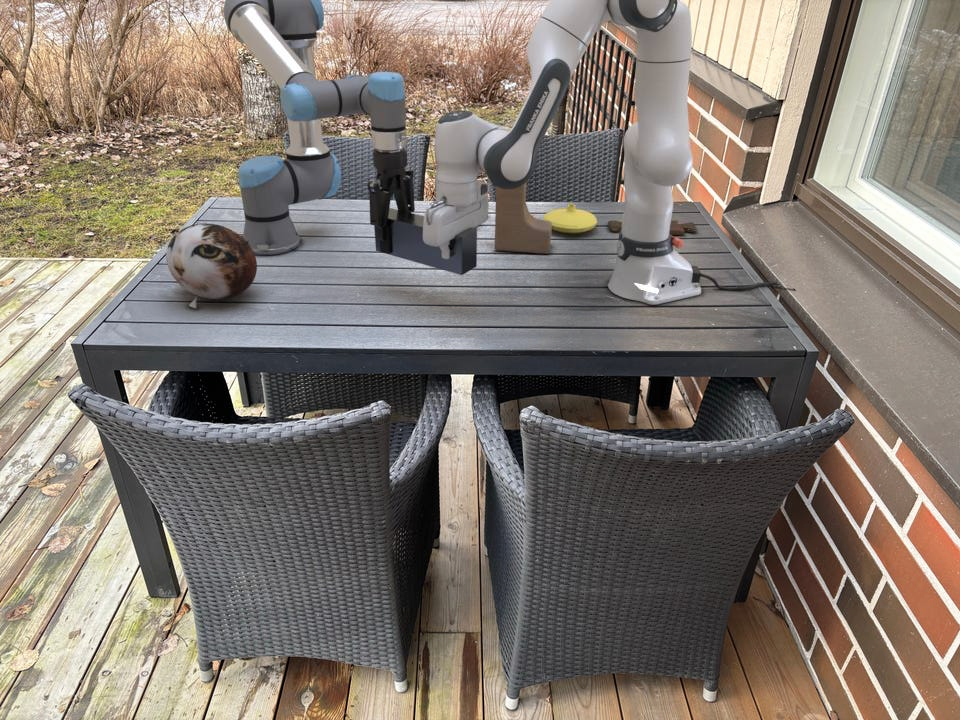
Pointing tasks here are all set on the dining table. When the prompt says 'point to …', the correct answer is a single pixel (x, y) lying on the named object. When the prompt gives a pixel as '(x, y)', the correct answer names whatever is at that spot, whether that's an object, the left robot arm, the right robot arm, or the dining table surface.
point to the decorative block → (519, 224)
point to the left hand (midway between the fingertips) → (394, 247)
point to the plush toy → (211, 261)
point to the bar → (412, 247)
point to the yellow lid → (571, 220)
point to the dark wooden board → (674, 229)
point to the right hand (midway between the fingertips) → (456, 252)
